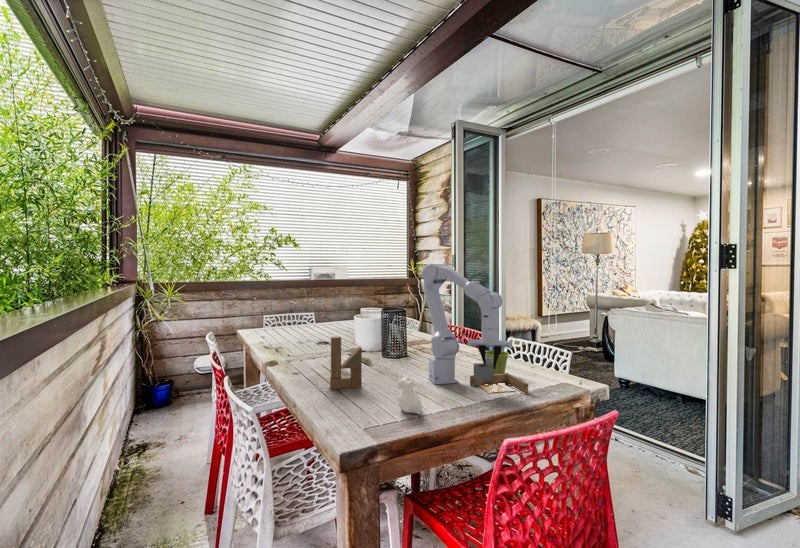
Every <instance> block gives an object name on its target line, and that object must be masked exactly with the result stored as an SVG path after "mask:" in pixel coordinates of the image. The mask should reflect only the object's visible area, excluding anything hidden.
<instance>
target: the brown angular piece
mask: <svg viewBox="0 0 800 548" xmlns="http://www.w3.org/2000/svg"><path fill="white" fill-rule="evenodd" d="M362 349H363V348H362V346H361V345H359V346H358V347H357V348H356V350H355V351H353V352H352V354H351V355H350V356H348V358H347V359H346V360H345V361H343V363H342V337H341V336H338V335H335V336H331V337H330V377H329V388H330V390H331V389H332V390H343V389H344V388H347V389H357V388H356V387H361V388H362V378H363V377H362V365H363V364H362V362H363V361H362V354H363V353H362ZM342 369H343V370H344V369H350V376H346V375H343V376H342ZM344 390H345V389H344Z"/></svg>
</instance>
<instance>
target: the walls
mask: <svg viewBox="0 0 800 548" xmlns="http://www.w3.org/2000/svg"><path fill="white" fill-rule="evenodd" d="M498 383H508V384H510V385H512V386H514V387H515V388H517V389H519V390H520V391H522V392H524V393H528V394H529V383H527V382H526V381H523V380H522V379H519V378H518V377H517V376H514V375H512V374H510V373H508V372H506V373H505V374H494V381H476V380H474V375H469V386H470V385H471V386H470V387H473V386H472V385H485V384H498ZM508 384H507V385H508ZM510 385H509V386H510ZM512 386H511V387H512ZM515 388H514V389H515ZM517 389H516V390H517ZM520 391H519V392H520ZM522 392H521V393H522ZM524 393H523V394H524Z"/></svg>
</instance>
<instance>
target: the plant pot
mask: <svg viewBox="0 0 800 548" xmlns="http://www.w3.org/2000/svg"><path fill="white" fill-rule="evenodd" d="M509 356H510V353H509V352H508V351H503V350H502V351H501V353H500V355H499V357H498V360H497V363H496V368H495V369H494V374H505V372H506V367H507V361H508V358H509ZM486 357H493V361H494V349H493V350H486Z"/></svg>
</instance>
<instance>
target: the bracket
mask: <svg viewBox="0 0 800 548" xmlns="http://www.w3.org/2000/svg"><path fill="white" fill-rule="evenodd" d="M473 376H474V380H476V381H494V365H493V357H486V364H483V363H482V362H481V363H480V362H479V363H478V362H477V363H473Z"/></svg>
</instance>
